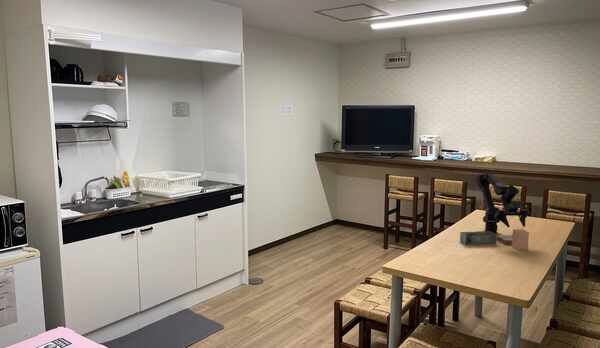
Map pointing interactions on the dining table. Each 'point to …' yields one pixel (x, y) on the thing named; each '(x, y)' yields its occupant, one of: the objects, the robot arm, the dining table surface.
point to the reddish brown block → (520, 239)
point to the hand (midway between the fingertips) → (516, 226)
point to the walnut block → (504, 239)
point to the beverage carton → (478, 238)
